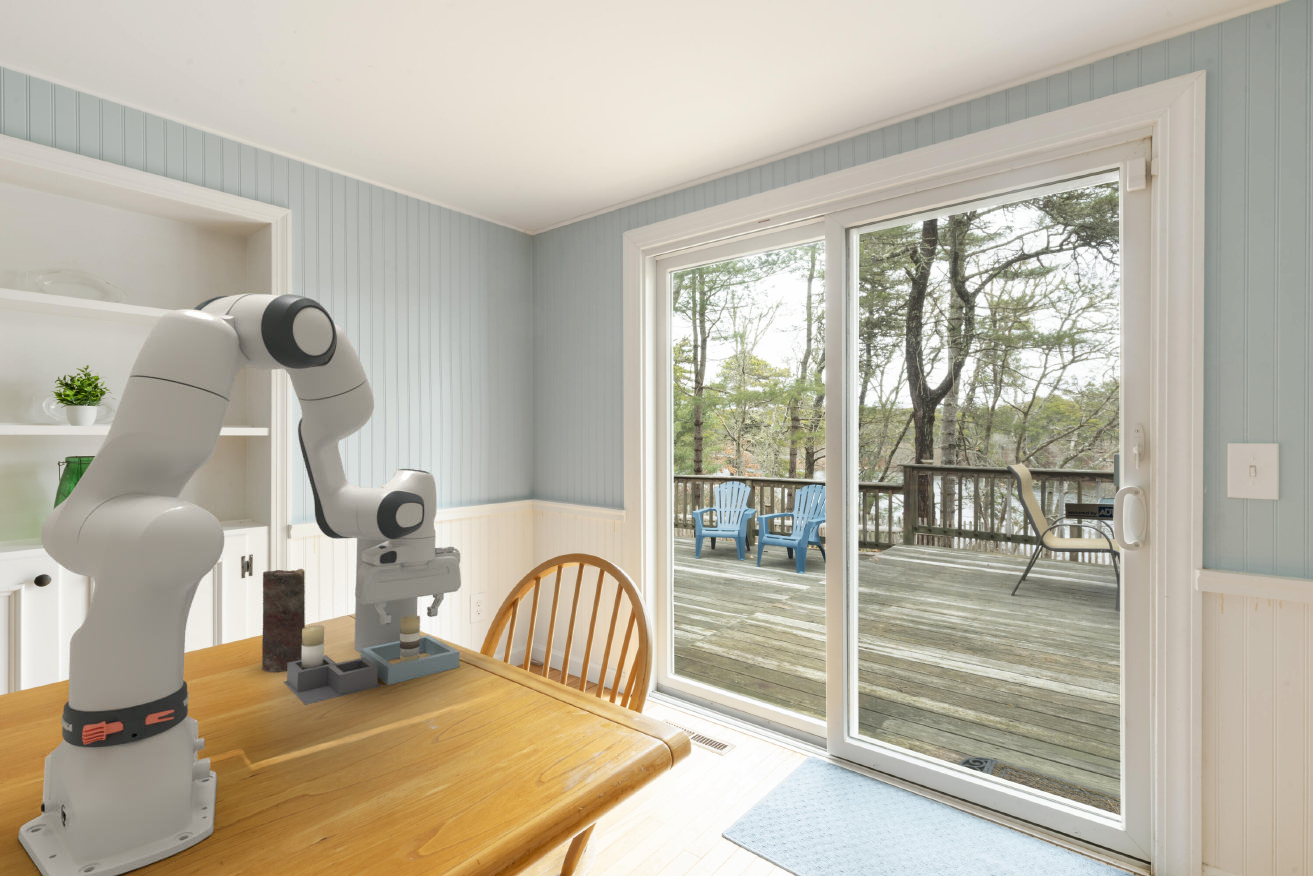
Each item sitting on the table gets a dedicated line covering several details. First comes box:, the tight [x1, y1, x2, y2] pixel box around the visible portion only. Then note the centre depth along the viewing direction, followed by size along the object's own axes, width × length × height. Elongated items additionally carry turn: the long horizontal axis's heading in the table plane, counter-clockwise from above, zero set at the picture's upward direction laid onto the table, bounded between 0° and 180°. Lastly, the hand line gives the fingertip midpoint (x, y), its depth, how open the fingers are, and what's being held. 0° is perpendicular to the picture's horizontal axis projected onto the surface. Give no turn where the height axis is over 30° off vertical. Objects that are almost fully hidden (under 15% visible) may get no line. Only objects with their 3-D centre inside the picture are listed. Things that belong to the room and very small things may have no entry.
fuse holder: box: [283, 654, 381, 706], centre depth 118 cm, size 14×13×4 cm
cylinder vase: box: [354, 538, 419, 654], centre depth 140 cm, size 12×12×25 cm
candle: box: [261, 568, 306, 673], centre depth 126 cm, size 8×7×20 cm
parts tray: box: [360, 634, 460, 686], centre depth 128 cm, size 14×14×4 cm
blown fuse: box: [399, 614, 421, 663], centre depth 128 cm, size 4×4×10 cm
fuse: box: [301, 624, 325, 670], centre depth 118 cm, size 4×4×10 cm
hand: (409, 619), depth 127 cm, fingers open, 8 cm apart
